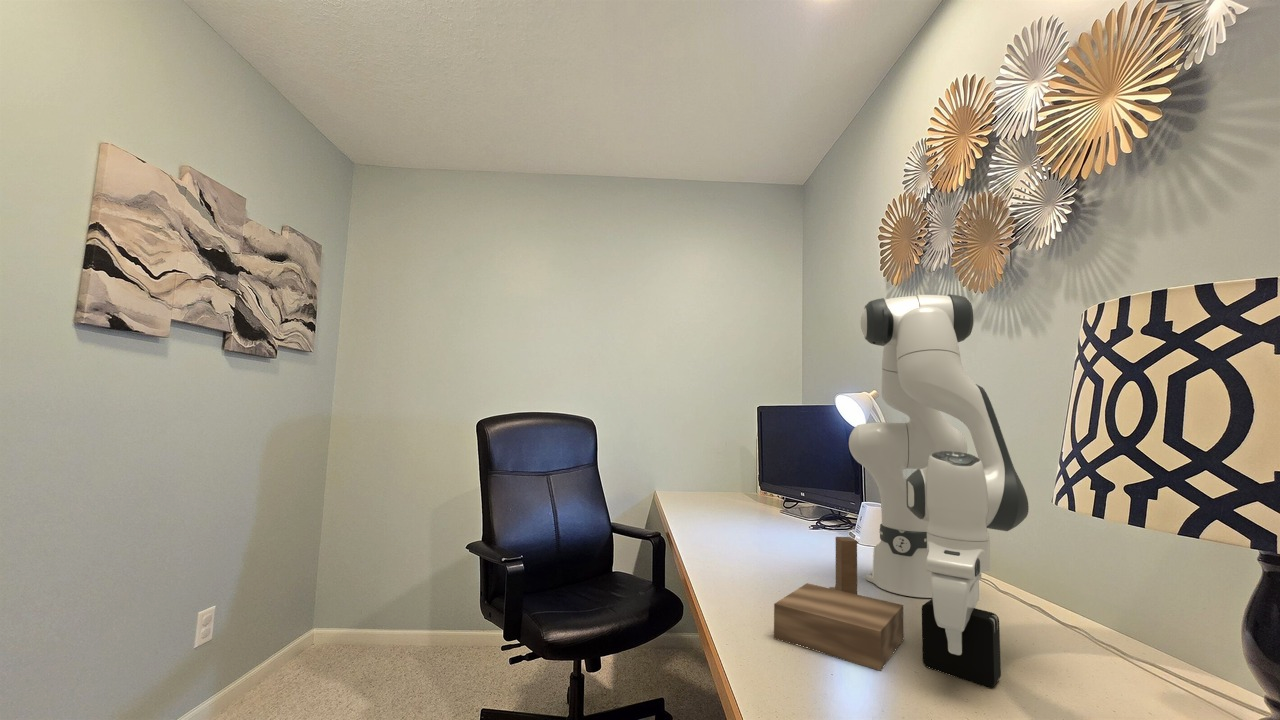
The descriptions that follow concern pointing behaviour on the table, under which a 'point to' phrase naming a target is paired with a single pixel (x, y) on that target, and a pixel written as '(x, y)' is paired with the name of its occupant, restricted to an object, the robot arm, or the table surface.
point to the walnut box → (840, 624)
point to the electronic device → (964, 647)
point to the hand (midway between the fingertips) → (960, 643)
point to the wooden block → (846, 565)
